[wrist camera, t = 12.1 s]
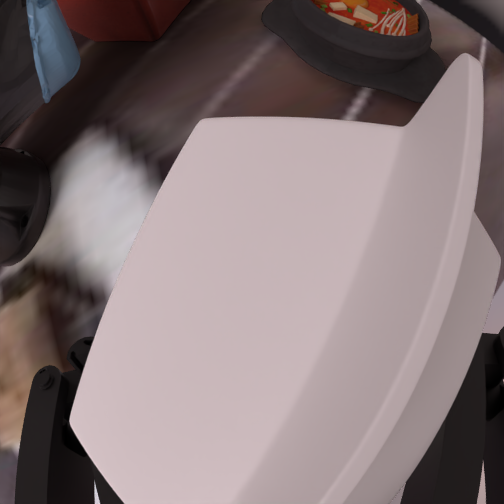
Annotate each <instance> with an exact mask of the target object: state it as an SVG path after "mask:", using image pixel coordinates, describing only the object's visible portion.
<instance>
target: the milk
mask: <svg viewBox="0 0 504 504" xmlns="http://www.w3.org/2000/svg"><path fill="white" fill-rule="evenodd" d="M483 111H484V94H483V71H482V65H481V63H480V62H479V61H478V60H477V59H476V58H474V57H473V56H471V55H469V54H467V53H464V54H461V55H460V56H459V57H458V58H456V59H455V60H454V62H453V63H452V64H451V65H450V67H449V68H448V69H447V71H446V72H445V74H444V75H443V77H442V78H441V79H440V81H439V82H438V84H437V85H436V87H435V88H434V89H433V91H432V92H431V94H430V95H429V97H428V98H427V99H426V101H425V102H424V104H423V105H422V106H421V108H420V109H419V111H418V112H417V113H416V115H415V116H414V117H413V118H412V120H411V121H410V122H409V123H408V124H407V125H406V126H404V127H399V126H391V125H383V124H375V123H367V122H357V121H347V120H335V119H320V118H301V117H219V118H206V119H202V120H200V121H199V122H198V124H197V125H196V127H195V128H194V130H193V131H192V133H191V135H190V136H189V138H188V140H187V141H186V143H185V145H184V147H183V148H182V150H181V152H180V154H179V155H178V157H177V159H176V161H175V162H174V164H173V166H172V168H171V170H170V171H169V173H168V175H167V177H166V179H165V181H164V182H163V184H162V186H161V188H160V190H159V192H158V194H157V196H156V198H155V200H154V202H153V204H152V206H151V208H150V210H149V212H148V214H147V216H146V218H145V220H144V222H143V224H142V226H141V228H140V230H139V232H138V234H137V236H136V238H135V240H134V243H133V245H132V247H131V249H130V251H129V254H128V256H127V258H126V260H125V262H124V265H123V267H122V269H121V272H120V274H119V276H118V279H117V281H116V283H115V286H114V288H113V291H112V293H111V296H110V298H109V301H108V303H107V306H106V308H105V311H104V313H103V316H102V319H101V321H100V324H99V327H98V329H97V332H96V335H95V337H94V340H93V343H92V346H91V349H90V352H89V355H88V358H87V361H86V364H85V367H84V370H83V373H82V376H81V379H80V383H79V386H78V389H77V393H76V396H75V400H74V403H73V407H72V410H71V414H70V420H69V422H70V425H71V427H72V429H73V431H74V433H75V435H76V436H77V438H78V440H79V441H80V443H81V444H82V446H83V447H84V449H85V451H86V452H87V454H88V455H89V457H90V458H91V460H92V461H93V463H94V464H95V465H96V467H97V468H98V470H99V471H100V473H101V474H102V475H103V477H104V478H105V479H106V481H107V482H108V483H109V485H110V486H111V487H112V489H113V490H114V491H115V492H116V494H117V495H118V496H119V497H120V499H121V500H122V501H123V502H124V504H390V502H391V501H392V500H393V499H394V497H395V496H396V495H397V493H398V492H399V491H400V489H401V488H402V487H403V485H404V484H405V483H406V481H407V480H408V478H409V477H410V475H411V474H412V473H413V471H414V470H415V468H416V467H417V465H418V464H419V462H420V461H421V459H422V457H423V456H424V454H425V453H426V451H427V449H428V448H429V446H430V444H431V443H432V441H433V439H434V438H435V436H436V434H437V432H438V431H439V429H440V427H441V425H442V423H443V421H444V420H445V418H446V416H447V414H448V412H449V410H450V408H451V406H452V404H453V402H454V400H455V398H456V396H457V394H458V391H459V389H460V387H461V385H462V383H463V380H464V378H465V376H466V373H467V371H468V369H469V366H470V364H471V361H472V359H473V356H474V354H475V351H476V348H477V346H478V343H479V340H480V337H481V334H482V331H483V328H484V325H485V322H486V319H487V316H488V313H489V309H490V306H491V302H492V299H493V295H494V291H495V287H496V283H497V279H498V275H499V270H500V265H501V258H500V255H499V253H498V251H497V249H496V248H495V246H494V244H493V242H492V241H491V239H490V237H489V235H488V234H487V232H486V230H485V229H484V227H483V225H482V224H481V222H480V220H479V219H478V217H477V216H476V214H475V212H474V206H475V200H476V194H477V187H478V180H479V172H480V162H481V151H482V137H483Z"/></svg>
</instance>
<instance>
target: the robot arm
mask: <svg viewBox="0 0 504 504" xmlns="http://www.w3.org/2000/svg"><path fill="white" fill-rule="evenodd" d="M79 66H80V55H79V52H78V49H77V47H76V44H75V42H74V39H73V37H72V35H71V33H70V30H69V28H68V26H67V23H66V21H65V19H64V17H63V14H62V12H61V10H60V8H59V5H58V3H57V1H56V0H0V145H1V144H2V143H3V142H4V141H5V140H6V139H7V137H8V136H9V135H10V134H11V133H12V132H13V131H14V130H15V129H16V128H17V127H18V126H19V125H20V124H21V123H22V122H23V121H25V120H26V119H27V118H28V117H29V116H30V115H31V114H32V113H33V112H34V111H35V110H36V109H37V108H39V107H40V106H41V105H42V104H43V103H44V102H45V103H48V102H49V101H50V99H51V97H52V96H53V95H54V94H55V93H56V92H57V91H58V90H60V89H61V88H62V87H63V86H64V85H65V84H67V83H68V82H69V81H70V80H71V79H72V78H73V77H74V76H75V75H76V73H77V72H78V69H79ZM49 202H50V178H49V173H48V170H47V168H46V166H45V164H44V163H43V161H42V160H41V159H39V158H38V157H36V156H35V155H33V154H32V153H30V152H28V151H26V150H22V149H15V150H14V149H10V148H5V147H0V266H11V265H14V264H16V263H18V262H19V261H21V260H22V259H23V258H24V257H25V256H26V255H27V254H28V253H29V252H30V250H31V249H32V247H33V246H34V244H35V243H36V241H37V239H38V237H39V235H40V233H41V231H42V228H43V226H44V223H45V220H46V216H47V212H48V208H49ZM93 340H94V337H85V338H82V339H80V340H78V341H77V342H76V343H74V344H73V345H72V346H71V348H70V350H69V352H68V355H67V360H68V361H69V362H70V363H71V365H72V366H73V367H74V368H75V369H76V370H73V371H68V372H64V373H62V372H61V371H60V370H59V369H58V368H56V367H55V366H51V365H49V366H45V367H43V368H42V369H40V370H39V371H38V372H37V373H36V375H35V376H34V379H33V381H32V385H31V389H30V394H29V398H28V403H27V408H26V413H25V418H24V423H23V429H22V435H21V441H20V448H19V456H18V465H17V475H16V489H15V504H95V498H94V480H95V484H96V488H97V492H98V496H99V500H100V504H124V502H123V501H122V500H121V499H120V497H119V496H118V495H117V494H116V492H115V491H114V490H113V489H112V487H111V486H110V485H109V483H108V482H107V481H106V479H105V478H104V477H103V475H102V474H101V473H100V471H99V470H98V468H97V467H96V465H95V464H94V463H93V461H92V460H91V458H90V457H89V455H88V454H87V452H86V451H85V449H84V447H83V446H82V444H81V443H80V441H79V440H78V438H77V436H76V435H75V433H74V431H73V429H72V427H71V425H70V422H69V420H70V414H71V410H72V407H73V403H74V400H75V396H76V393H77V389H78V386H79V383H80V379H81V376H82V373H83V370H84V367H85V364H86V361H87V358H88V355H89V352H90V349H91V346H92V343H93ZM503 379H504V327H503V328H502V329H501V330H500V332H499V334H489V333H482V334H481V337H480V340H479V343H478V346H477V348H476V351H475V354H474V356H473V359H472V361H471V364H470V366H469V369H468V371H467V373H466V376H465V378H464V380H463V383H462V385H461V387H460V389H459V391H458V394H457V396H456V398H455V400H454V402H453V404H452V406H451V408H450V410H449V412H448V414H447V416H446V418H445V420H444V421H443V423H442V425H441V427H440V429H439V431H438V432H437V434H436V436H435V438H434V439H433V441H432V443H431V444H430V446H429V448H428V449H427V451H426V453H425V454H424V456H423V457H422V459H421V461H420V462H419V464H418V465H417V467H416V468H415V470H414V471H413V473H412V474H411V475H410V477H409V478H408V480H407V481H406V485H405V488H404V492H403V496H402V499H401V503H400V504H477V498H478V493H479V486H480V480H481V472H482V464H483V462H484V471H485V472H484V473H485V486H486V504H504V382H503Z"/></svg>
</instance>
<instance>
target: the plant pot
mask: <svg viewBox="0 0 504 504" xmlns="http://www.w3.org/2000/svg"><path fill="white" fill-rule="evenodd" d="M56 1H57V3H58V5H59V8H60V10H61V12H62V14H63V17H64V19H65V21H66V23H67V26H68V27H69V28H71V29H72V30H74V31H76V32H78V33H80V34H82V35H84V36H85V37H87V38H89V39H91V40H93V41H96V42H98V41H155V40H158V39H159V38H160V37H161V36H162V35H163V34H164V32H165V31H166V30H167V28H168V27H169V26H170V25H171V23H172V22H173V21H174V20H175V18H176V17H177V16H178V15H179V13H180V12H181V11H182V10H183V9H184V7H185V6H186V5H187V4H188V3H189V2H190V0H56Z"/></svg>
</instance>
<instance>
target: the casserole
mask: <svg viewBox="0 0 504 504" xmlns="http://www.w3.org/2000/svg"><path fill="white" fill-rule="evenodd" d="M261 20H262V22H263V24H264V26H266V27H267V28H268V29H270V30H271V31H272V32H274V33H275V34H277V35H278V36H280V37H281V38H282V39H283V40H284V41H285V42H286V43H287V44H288V45H289V46H290V47H291V48H292V50H293V51H294V52H295V53H296V54H297V55H298V56H299V57H300V58H301V59H303V60H304V61H305V62H306V63H308V64H309V65H310V66H312V67H314V68H316V69H317V70H319V71H321V72H322V73H324V74H326V75H329V76H331V77H333V78H336V79H338V80H340V81H344V82H347V83H350V84H353V85H357V86H362V87H368V88H373V89H378V90H382V91H387V92H390V93H392V94H395V95H398V96H400V97H403V98H405V99H408V100H410V101H413V102H419V103H424V102H425V101H426V99H427V98H428V97H429V95H430V94H431V92H432V91H433V89H434V88H435V87H436V85H437V84H438V82H439V81H440V79H441V78H442V77H443V75H444V74H445V72H446V70H445V67H444V64H443V61H442V60H441V58H440V57H439V56H438V54H437V53H436V52H434V51H433V50H432V49H431V48H430V45H431V42H432V38H431V32H430V29H429V20H428V17H427V15H426V13H425V11H424V10H423V8H422V7H421V6H420V5H419V4H418V3H417V2H416V0H273V1H272V2H271V3H270V4H269V5H268V6H267V7H266V8H265V10H264V11H263V13H262V19H261Z"/></svg>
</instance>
